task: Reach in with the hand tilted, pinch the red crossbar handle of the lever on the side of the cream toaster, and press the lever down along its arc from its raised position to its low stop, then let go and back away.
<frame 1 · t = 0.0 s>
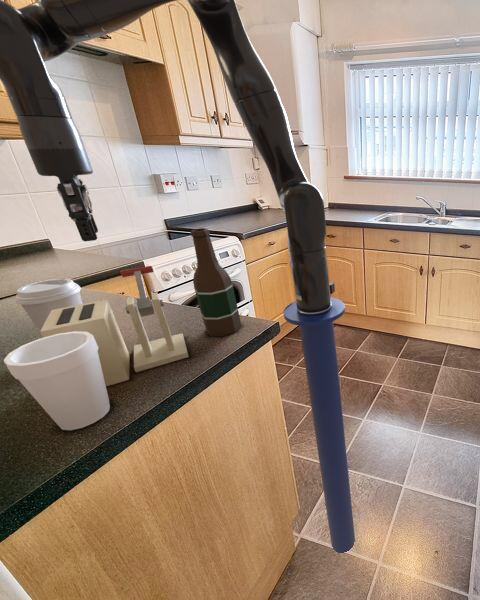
hand: (91, 236, 66), 24 cm above the table, tool pointing down, fingers open, 8 cm apart
lever: (141, 289, 69), point 13 cm above the table, hinge at 25.0°
lever bracket: (161, 353, 71), on the table
coffee cup: (75, 350, 73), on the table
foam cup: (86, 416, 55), on the table
toaster: (103, 374, 65), on the table
beer bottle: (224, 329, 81), on the table
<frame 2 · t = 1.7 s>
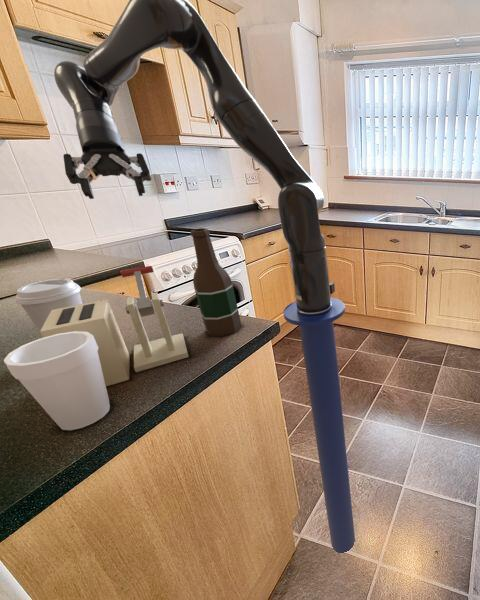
hand: (116, 194, 73), 31 cm above the table, tool tilted 45°, fingers open, 8 cm apart
nothing on the table moved.
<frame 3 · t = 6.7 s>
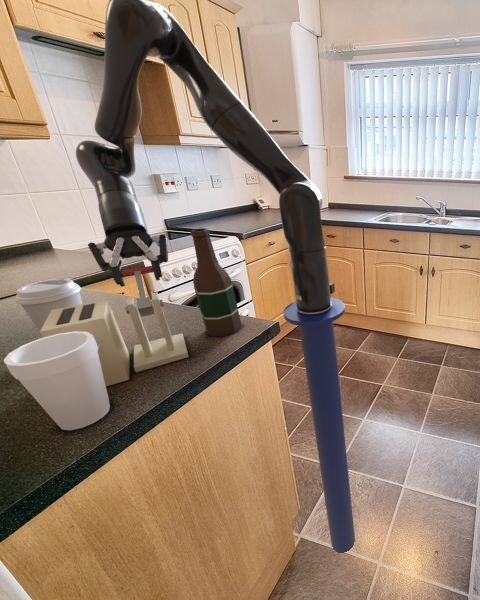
hand: (140, 281, 72), 14 cm above the table, tool tilted 45°, fingers closed on lever, 5 cm apart
lever: (141, 289, 69), point 13 cm above the table, hinge at 25.0°, touching gripper
everything else where it was.
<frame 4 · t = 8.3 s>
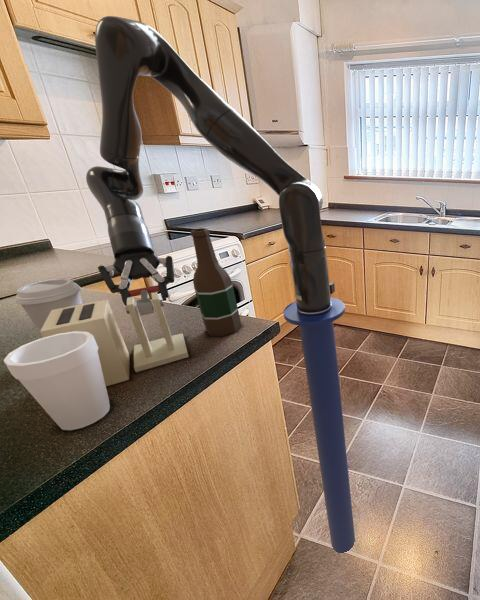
hand: (147, 302, 74), 9 cm above the table, tool tilted 45°, fingers closed on lever, 5 cm apart
lever: (145, 298, 71), point 11 cm above the table, hinge at -1.4°, touching gripper
everything else where it was.
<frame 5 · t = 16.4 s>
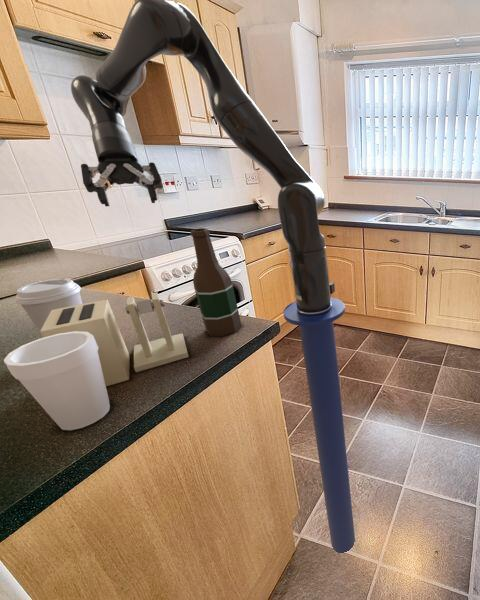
hand: (130, 202, 76), 29 cm above the table, tool tilted 45°, fingers open, 8 cm apart
lever: (147, 306, 71), point 9 cm above the table, hinge at -20.0°
everything else where it was.
at the end: lever at -20° (first picture: +25°) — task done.
